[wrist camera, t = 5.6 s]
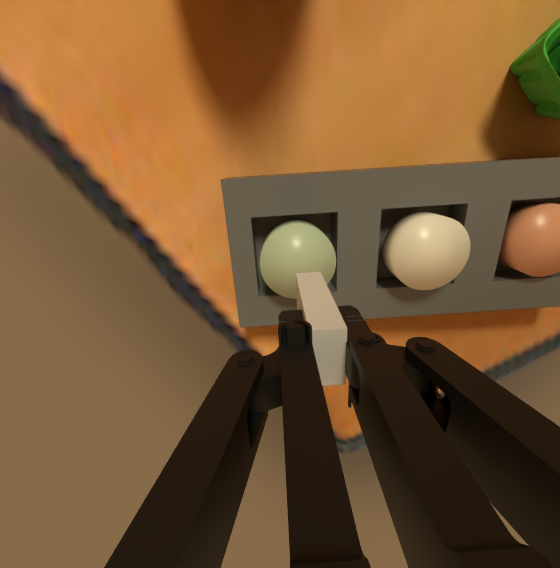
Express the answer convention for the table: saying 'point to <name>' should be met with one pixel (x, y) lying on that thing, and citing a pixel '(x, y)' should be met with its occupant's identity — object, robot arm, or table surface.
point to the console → (375, 225)
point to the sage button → (295, 255)
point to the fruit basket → (542, 72)
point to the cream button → (426, 250)
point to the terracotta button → (532, 239)
